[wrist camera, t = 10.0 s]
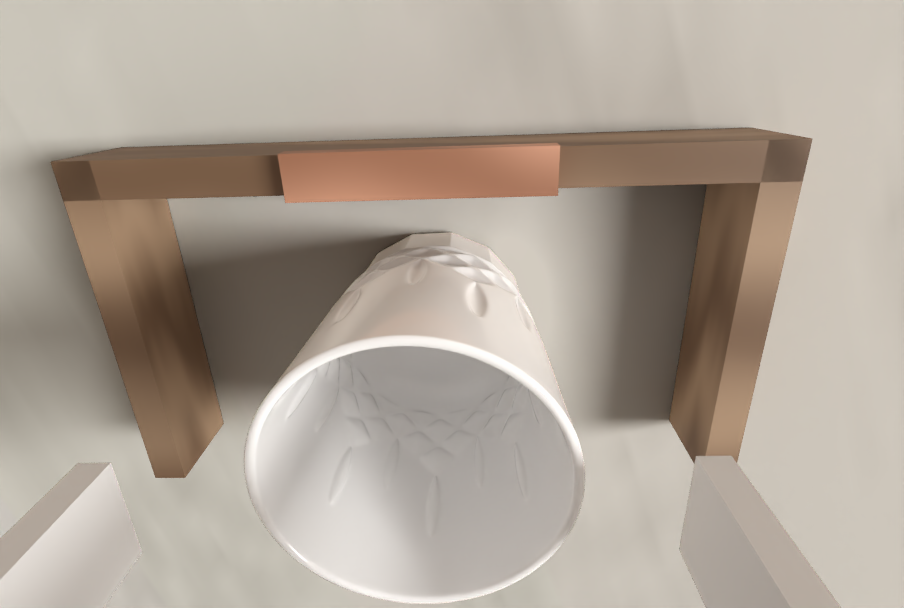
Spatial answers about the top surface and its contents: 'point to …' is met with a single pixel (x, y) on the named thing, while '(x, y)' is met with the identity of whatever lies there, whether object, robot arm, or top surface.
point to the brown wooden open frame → (433, 177)
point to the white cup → (419, 433)
